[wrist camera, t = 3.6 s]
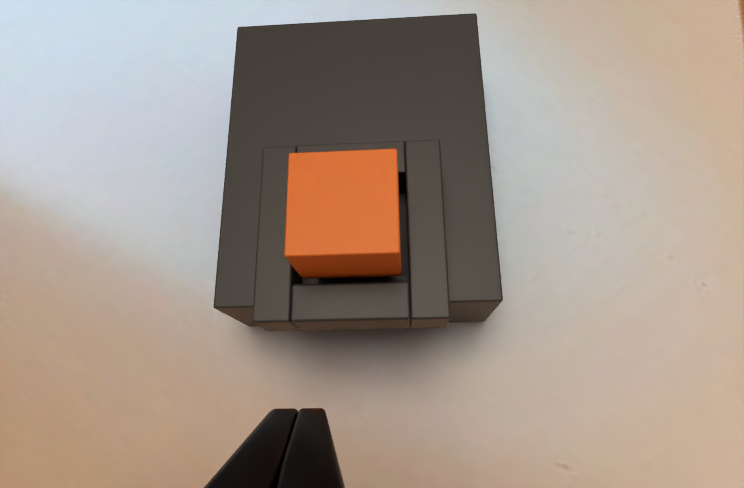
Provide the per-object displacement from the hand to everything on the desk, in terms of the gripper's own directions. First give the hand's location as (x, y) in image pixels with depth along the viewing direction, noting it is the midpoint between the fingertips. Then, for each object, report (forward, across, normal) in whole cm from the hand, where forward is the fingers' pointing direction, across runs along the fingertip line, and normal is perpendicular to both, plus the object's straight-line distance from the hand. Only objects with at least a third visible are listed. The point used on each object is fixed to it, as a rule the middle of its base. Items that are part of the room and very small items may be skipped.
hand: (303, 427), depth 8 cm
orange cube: (+9, 0, +1) cm, 9 cm away
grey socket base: (+16, 0, +2) cm, 16 cm away
